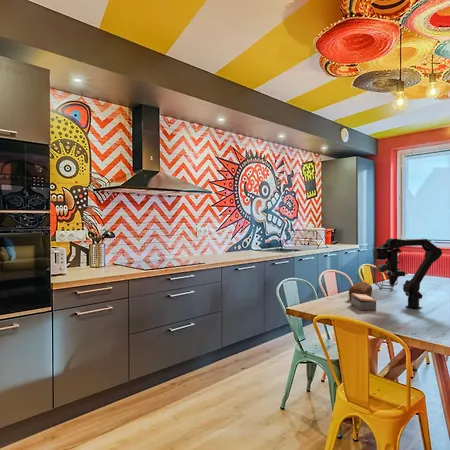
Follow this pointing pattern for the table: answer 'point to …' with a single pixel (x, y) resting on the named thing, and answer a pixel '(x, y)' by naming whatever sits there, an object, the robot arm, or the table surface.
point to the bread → (360, 289)
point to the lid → (363, 297)
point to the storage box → (363, 304)
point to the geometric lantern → (382, 274)
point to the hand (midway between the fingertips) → (392, 285)
